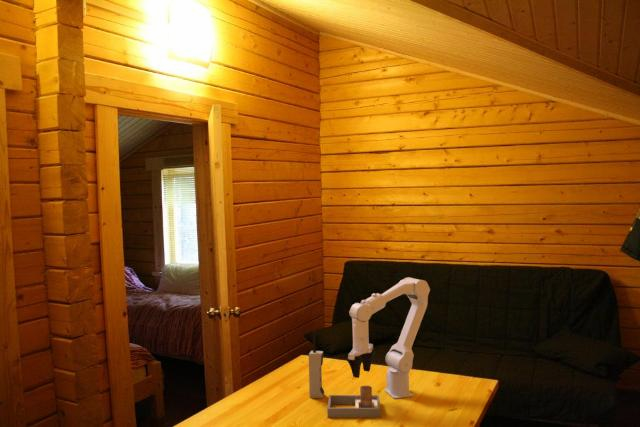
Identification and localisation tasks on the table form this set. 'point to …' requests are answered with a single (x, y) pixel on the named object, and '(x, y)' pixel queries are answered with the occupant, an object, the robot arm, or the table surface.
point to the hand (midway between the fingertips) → (361, 374)
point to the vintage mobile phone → (315, 372)
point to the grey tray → (355, 411)
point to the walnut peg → (366, 396)
